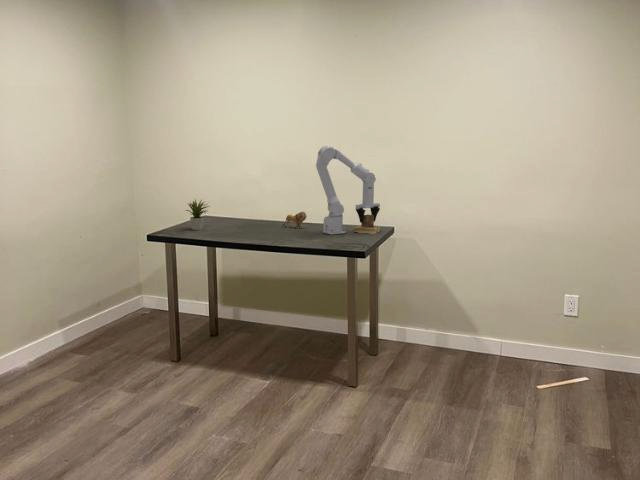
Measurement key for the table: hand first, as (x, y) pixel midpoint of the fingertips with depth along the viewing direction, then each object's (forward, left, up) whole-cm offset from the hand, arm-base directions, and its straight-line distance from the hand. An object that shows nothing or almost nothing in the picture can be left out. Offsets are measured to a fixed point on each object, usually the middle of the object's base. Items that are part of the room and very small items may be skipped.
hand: (367, 221), depth 309 cm
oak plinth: (0, 0, -5) cm, 5 cm away
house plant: (-72, +52, -5) cm, 89 cm away
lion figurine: (-25, +31, -5) cm, 40 cm away
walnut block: (0, 0, -3) cm, 3 cm away
